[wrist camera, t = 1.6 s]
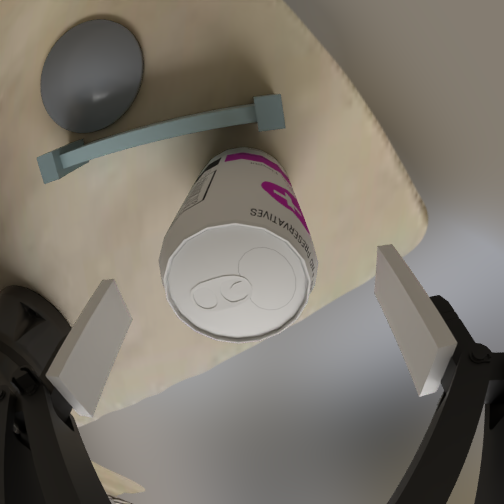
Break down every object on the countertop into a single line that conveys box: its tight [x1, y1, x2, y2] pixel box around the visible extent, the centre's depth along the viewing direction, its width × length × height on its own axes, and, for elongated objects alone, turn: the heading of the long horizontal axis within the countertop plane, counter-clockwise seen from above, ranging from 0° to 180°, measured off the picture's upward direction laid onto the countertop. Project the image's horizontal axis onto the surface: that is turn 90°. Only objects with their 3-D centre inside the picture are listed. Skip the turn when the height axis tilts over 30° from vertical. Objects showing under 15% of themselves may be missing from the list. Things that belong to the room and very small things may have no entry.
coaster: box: [41, 20, 144, 133], centre depth 22 cm, size 11×11×1 cm
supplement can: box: [159, 147, 318, 343], centre depth 21 cm, size 8×8×15 cm
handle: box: [37, 94, 285, 184], centre depth 22 cm, size 20×2×6 cm, turn 99°
